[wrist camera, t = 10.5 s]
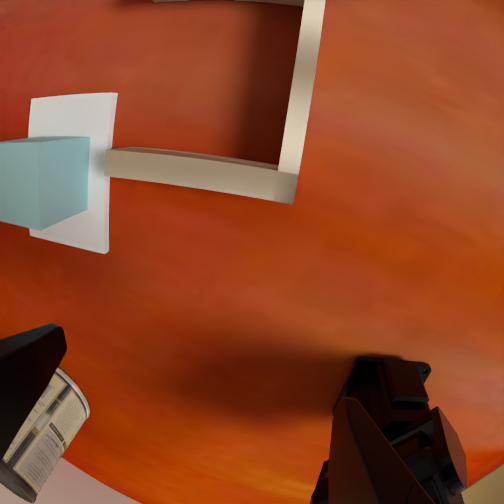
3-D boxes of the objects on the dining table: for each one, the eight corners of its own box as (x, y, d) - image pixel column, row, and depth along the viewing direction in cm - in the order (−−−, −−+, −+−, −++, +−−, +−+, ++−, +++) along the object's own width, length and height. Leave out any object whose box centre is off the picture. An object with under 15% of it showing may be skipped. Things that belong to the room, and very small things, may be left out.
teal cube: (87, 209, 20) (40, 230, 15) (39, 201, 20) (-7, 219, 16) (90, 136, 18) (39, 142, 13) (40, 136, 18) (-9, 143, 14)
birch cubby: (293, 193, 18) (292, 204, 15) (129, 169, 19) (104, 176, 16) (325, -10, 14) (329, -32, 11) (159, -16, 14) (139, -33, 12)
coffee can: (43, 407, 32) (-10, 476, 19) (12, 346, 28) (-60, 416, 15) (102, 429, 30) (50, 517, 17) (72, 365, 27) (-6, 461, 14)
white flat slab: (109, 251, 21) (104, 254, 21) (34, 233, 22) (29, 235, 21) (117, 93, 17) (112, 92, 17) (36, 99, 18) (31, 99, 17)
